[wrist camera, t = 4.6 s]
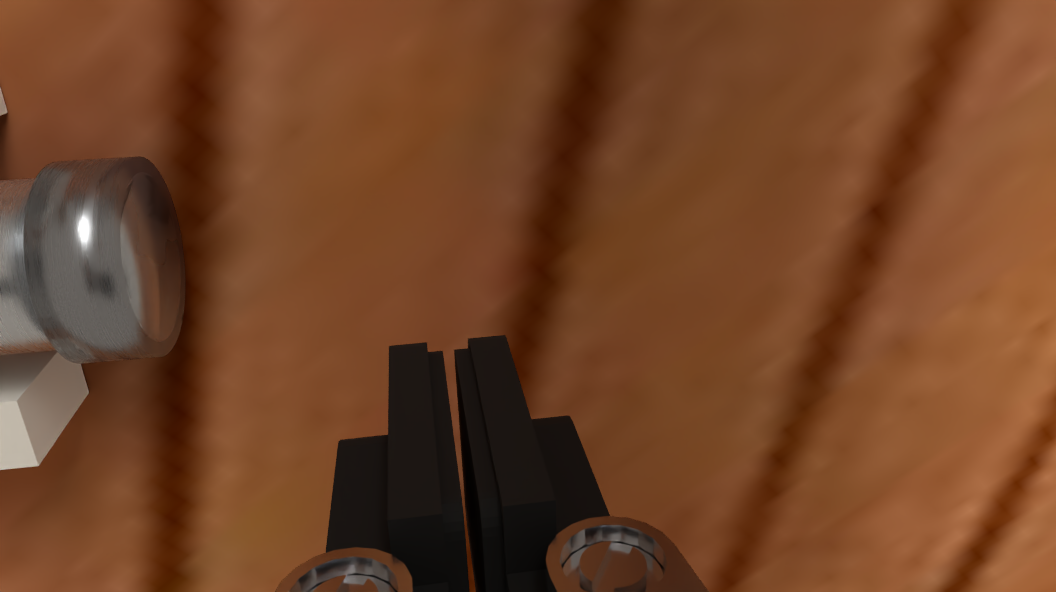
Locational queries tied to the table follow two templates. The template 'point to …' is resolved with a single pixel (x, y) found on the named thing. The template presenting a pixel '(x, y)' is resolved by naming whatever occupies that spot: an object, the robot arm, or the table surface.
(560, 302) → the table surface
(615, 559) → the robot arm
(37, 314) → the slip tube
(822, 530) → the table surface
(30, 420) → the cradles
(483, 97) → the table surface
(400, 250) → the table surface
